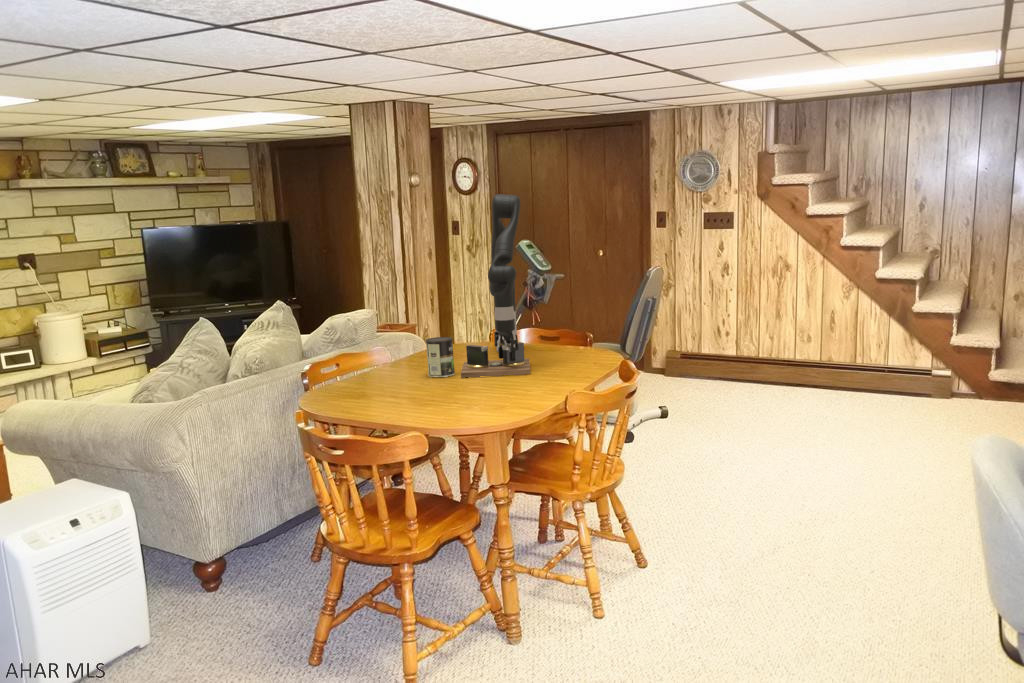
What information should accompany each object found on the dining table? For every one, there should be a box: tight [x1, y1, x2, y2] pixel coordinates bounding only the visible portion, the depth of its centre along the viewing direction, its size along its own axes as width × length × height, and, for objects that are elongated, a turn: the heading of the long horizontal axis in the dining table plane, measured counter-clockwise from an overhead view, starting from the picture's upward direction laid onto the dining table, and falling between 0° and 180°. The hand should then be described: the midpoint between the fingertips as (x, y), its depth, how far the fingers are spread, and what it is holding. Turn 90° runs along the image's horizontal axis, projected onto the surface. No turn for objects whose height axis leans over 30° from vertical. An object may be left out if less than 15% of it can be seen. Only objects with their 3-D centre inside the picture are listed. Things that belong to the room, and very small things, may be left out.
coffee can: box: [425, 336, 456, 378], centre depth 311 cm, size 10×10×14 cm
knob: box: [502, 341, 526, 367], centre depth 314 cm, size 9×8×8 cm
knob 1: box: [465, 344, 489, 369], centre depth 314 cm, size 9×8×8 cm
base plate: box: [460, 358, 531, 379], centre depth 314 cm, size 22×26×3 cm
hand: (507, 359), depth 312 cm, fingers open, 8 cm apart
